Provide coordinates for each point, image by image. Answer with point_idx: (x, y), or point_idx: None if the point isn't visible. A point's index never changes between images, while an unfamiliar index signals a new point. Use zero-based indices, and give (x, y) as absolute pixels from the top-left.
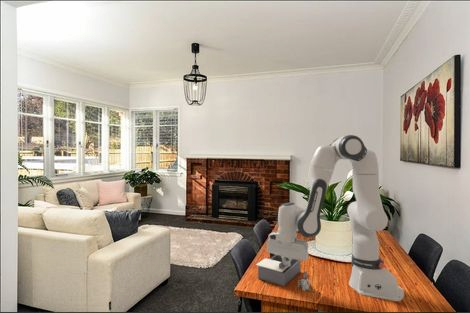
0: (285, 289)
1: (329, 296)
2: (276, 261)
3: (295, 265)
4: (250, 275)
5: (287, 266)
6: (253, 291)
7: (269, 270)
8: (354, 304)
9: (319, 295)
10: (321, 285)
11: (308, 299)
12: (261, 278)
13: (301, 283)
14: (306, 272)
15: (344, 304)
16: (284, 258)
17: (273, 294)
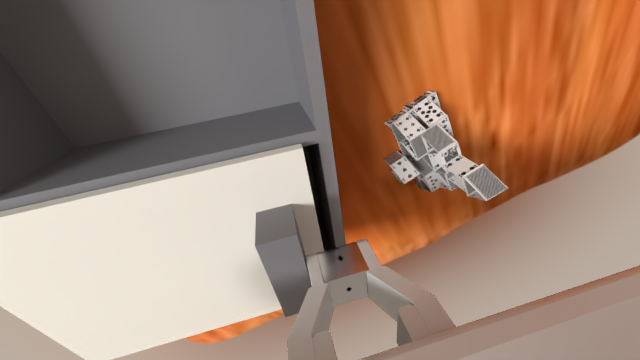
0: (347, 231)
1: (538, 137)
2: (120, 205)
3: (315, 43)
4: None
5: (315, 212)
6: (259, 321)
7: None
8: (630, 120)
9: (495, 163)
10: (502, 46)
11: (456, 220)
12: None
13: (401, 148)
14: (499, 188)
15: (588, 150)
16: (321, 325)
17: None
